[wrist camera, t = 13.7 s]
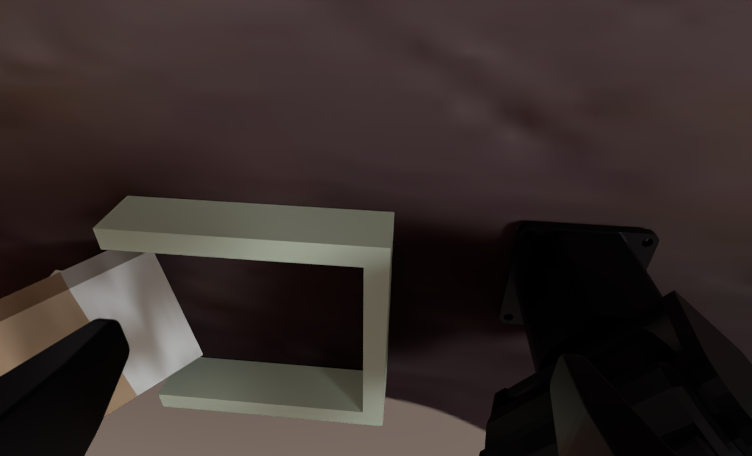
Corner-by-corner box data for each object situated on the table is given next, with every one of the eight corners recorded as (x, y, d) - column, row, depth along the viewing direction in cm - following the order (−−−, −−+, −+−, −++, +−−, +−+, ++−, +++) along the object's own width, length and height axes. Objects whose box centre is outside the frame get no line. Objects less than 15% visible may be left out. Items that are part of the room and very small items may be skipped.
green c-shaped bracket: (127, 195, 24) (92, 228, 21) (394, 212, 23) (390, 248, 20) (183, 367, 31) (162, 406, 29) (385, 384, 30) (382, 426, 28)
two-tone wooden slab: (140, 235, 25) (-106, 346, 20) (152, 249, 24) (-107, 372, 18) (190, 338, 29) (0, 451, 24) (203, 354, 28) (5, 478, 23)
